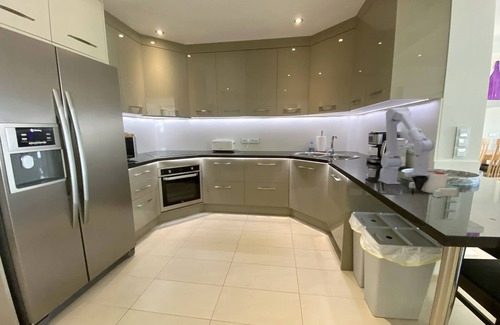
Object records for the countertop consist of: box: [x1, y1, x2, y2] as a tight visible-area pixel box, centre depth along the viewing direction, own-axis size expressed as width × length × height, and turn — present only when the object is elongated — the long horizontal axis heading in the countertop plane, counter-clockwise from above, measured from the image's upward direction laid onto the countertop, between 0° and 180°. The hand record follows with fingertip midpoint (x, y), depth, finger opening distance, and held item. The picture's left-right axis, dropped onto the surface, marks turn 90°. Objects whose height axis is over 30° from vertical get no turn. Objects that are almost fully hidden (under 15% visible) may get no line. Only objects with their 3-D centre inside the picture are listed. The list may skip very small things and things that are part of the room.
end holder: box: [436, 183, 461, 197], centre depth 111 cm, size 14×10×4 cm
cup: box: [421, 170, 448, 194], centre depth 111 cm, size 10×10×10 cm
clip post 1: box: [408, 181, 416, 189], centre depth 119 cm, size 2×2×3 cm
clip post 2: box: [432, 190, 443, 198], centre depth 103 cm, size 2×2×3 cm
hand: (418, 190), depth 111 cm, fingers closed
